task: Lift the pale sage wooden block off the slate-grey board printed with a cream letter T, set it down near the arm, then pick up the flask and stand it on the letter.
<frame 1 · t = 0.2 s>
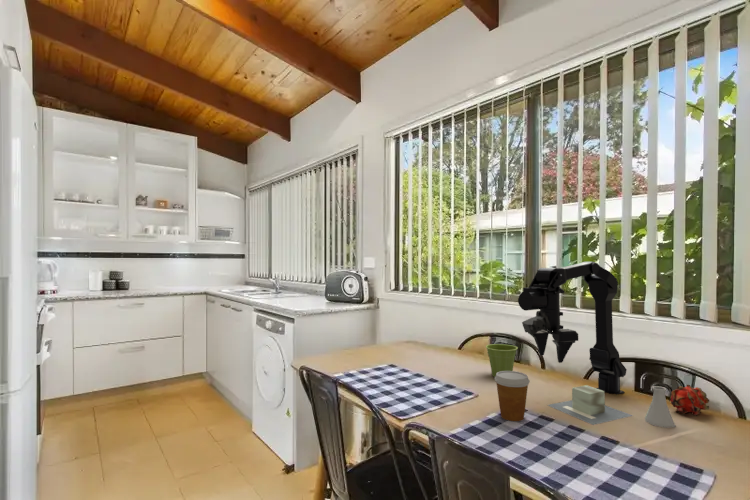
hand: (550, 358, 125), 14 cm above the table, tool pointing down, fingers open, 9 cm apart
flask: (659, 425, 110), on the table
dragon fruit: (688, 413, 118), on the table
disposable coffee cup: (512, 417, 116), on the table
plant pot: (501, 376, 155), on the table
sage block: (588, 410, 119), point 1 cm above the table, touching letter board
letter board: (588, 412, 119), on the table
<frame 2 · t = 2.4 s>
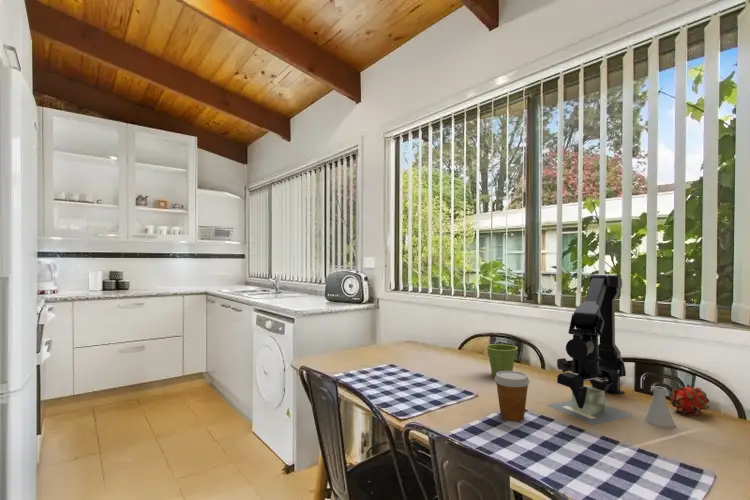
hand: (588, 406, 119), 2 cm above the table, tool pointing down, fingers closed on sage block, 6 cm apart
sage block: (588, 410, 119), point 1 cm above the table, touching gripper, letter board
everything else where it was.
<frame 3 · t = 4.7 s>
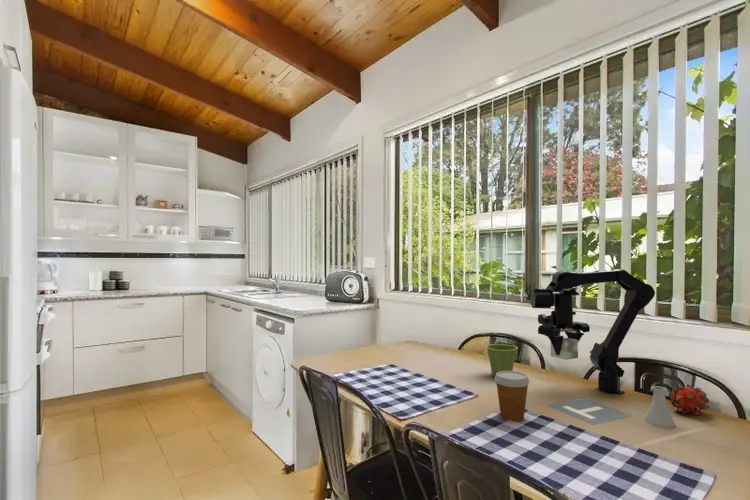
hand: (564, 354, 138), 12 cm above the table, tool pointing down, fingers closed on sage block, 6 cm apart
sage block: (564, 356, 138), point 11 cm above the table, touching gripper
everything else where it was.
when the fingers open (2 cm above the table, at t = 7.2 s): sage block drops 2 cm, on the table.
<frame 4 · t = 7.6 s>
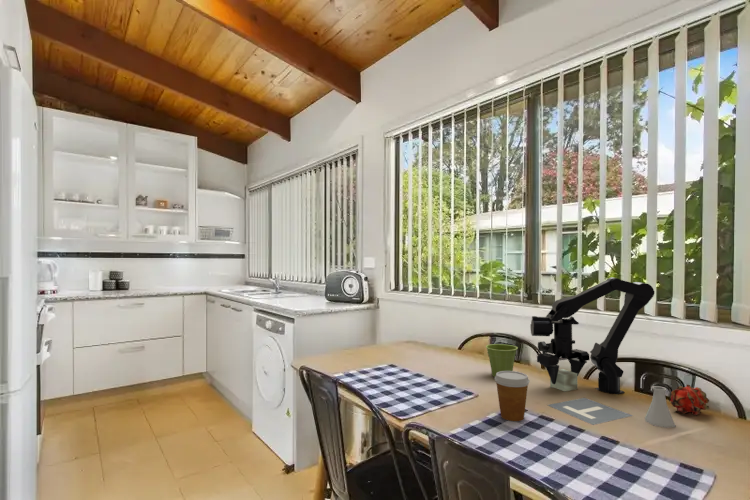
hand: (563, 382, 140), 2 cm above the table, tool pointing down, fingers open, 9 cm apart
sage block: (563, 389, 140), on the table
everything else where it was.
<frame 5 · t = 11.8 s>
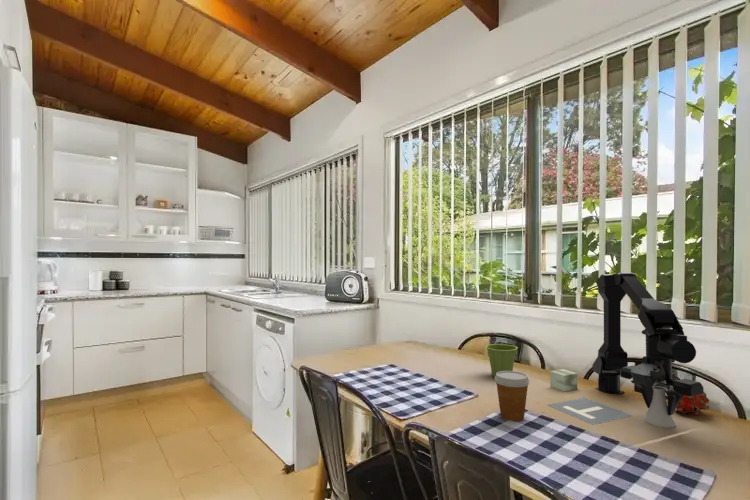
hand: (659, 411, 110), 4 cm above the table, tool pointing down, fingers closed on flask, 5 cm apart
flask: (659, 425, 110), on the table, touching gripper
everything else where it was.
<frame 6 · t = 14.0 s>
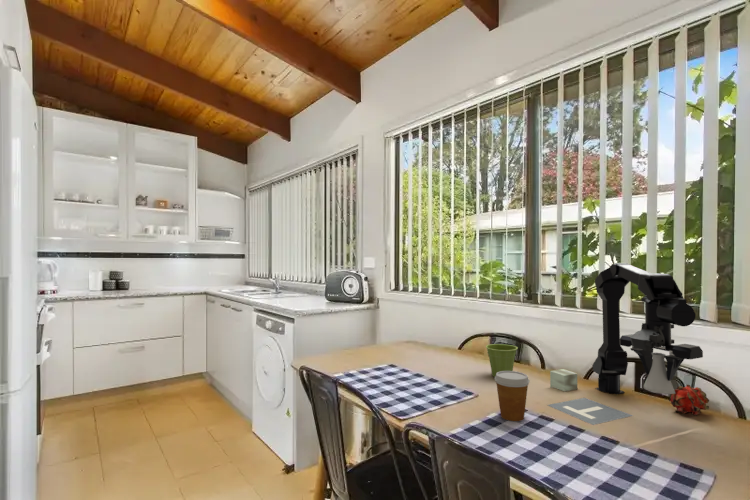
hand: (658, 377, 110), 13 cm above the table, tool pointing down, fingers closed on flask, 5 cm apart
flask: (659, 391, 110), point 9 cm above the table, touching gripper
everything else where it was.
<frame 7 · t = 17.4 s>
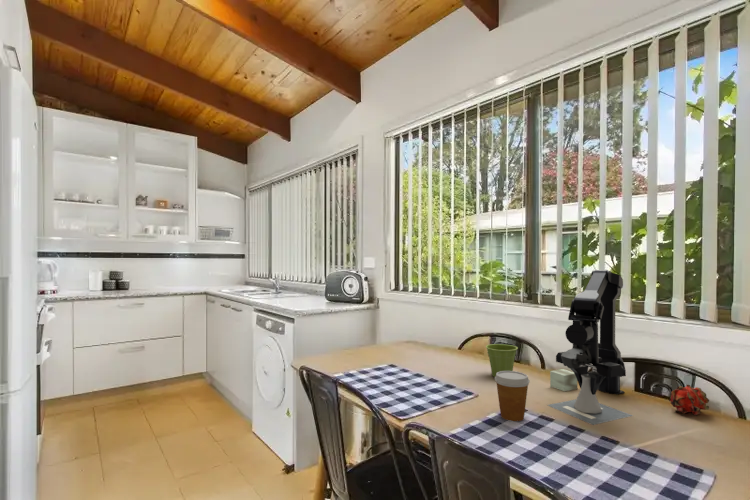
hand: (588, 392, 119), 6 cm above the table, tool pointing down, fingers closed on flask, 3 cm apart
flask: (587, 410, 119), resting on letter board, touching gripper
everything else where it was.
when the fingers open (6 cm above the table, at t = 17.5 s): flask stays where it is, resting on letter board.
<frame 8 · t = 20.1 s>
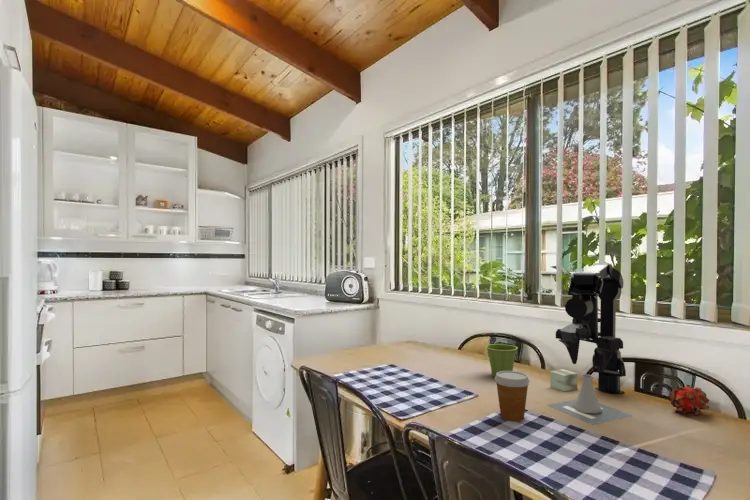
hand: (587, 367, 119), 13 cm above the table, tool pointing down, fingers open, 9 cm apart
flask: (587, 410, 119), resting on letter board
everything else where it was.
at the end: flask inside the target area on the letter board (0.2 cm from its centre), point 0.4 cm above the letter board's base; flask tilted 0°; sage block touching table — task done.
